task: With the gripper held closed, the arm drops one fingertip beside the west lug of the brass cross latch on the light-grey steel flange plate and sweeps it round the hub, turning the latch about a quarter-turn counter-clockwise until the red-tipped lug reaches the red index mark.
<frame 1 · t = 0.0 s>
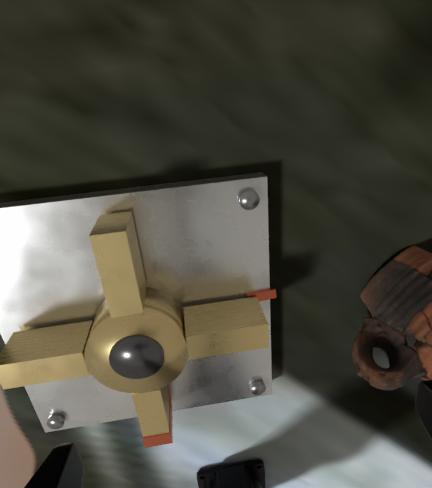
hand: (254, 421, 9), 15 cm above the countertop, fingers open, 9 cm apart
brown clawed figurine: (398, 301, 27), on the countertop
brass cross latch: (139, 340, 22), point 3 cm above the countertop, hinge at 0.0°
flange plate: (142, 311, 24), on the countertop
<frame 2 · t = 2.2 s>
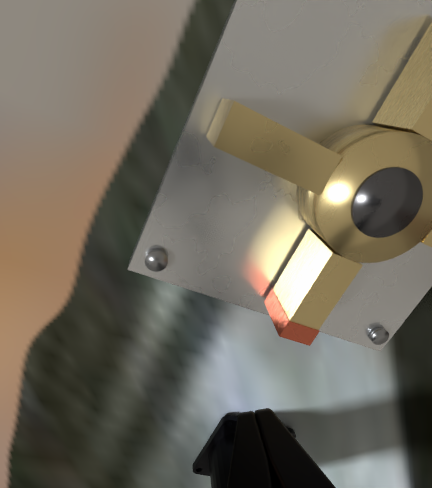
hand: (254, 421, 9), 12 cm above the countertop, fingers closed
brass cross latch: (367, 194, 16), point 3 cm above the countertop, hinge at 0.0°
flange plate: (339, 178, 19), on the countertop
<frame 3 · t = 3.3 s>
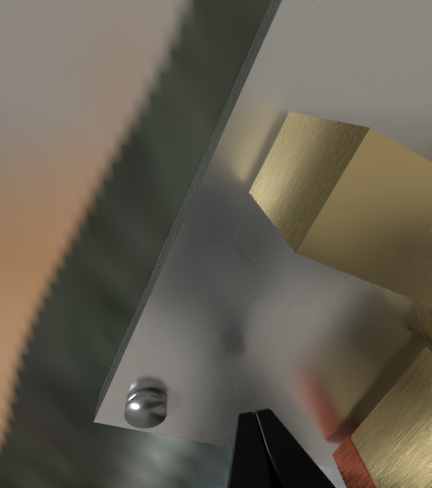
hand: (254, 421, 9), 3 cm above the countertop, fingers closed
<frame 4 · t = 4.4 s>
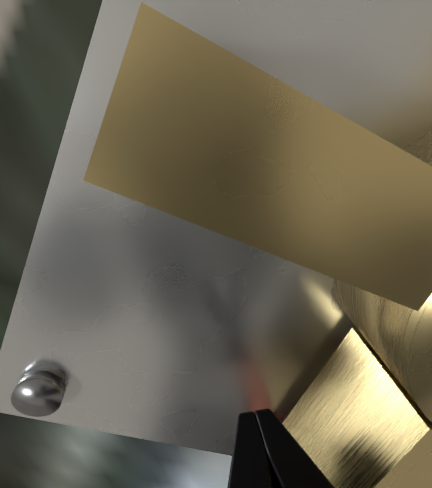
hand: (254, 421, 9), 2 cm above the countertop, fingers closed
flange plate: (409, 222, 10), on the countertop
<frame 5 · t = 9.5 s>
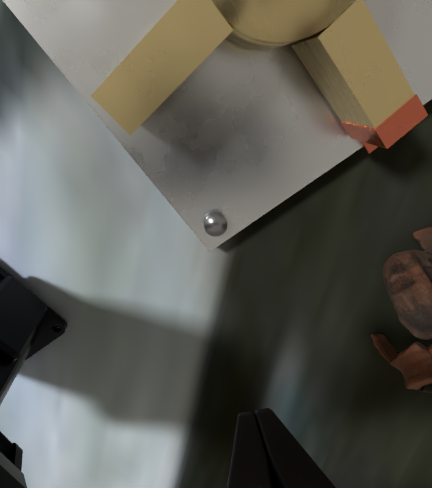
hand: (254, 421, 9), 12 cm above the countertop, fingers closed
brown clawed figurine: (411, 280, 23), on the countertop
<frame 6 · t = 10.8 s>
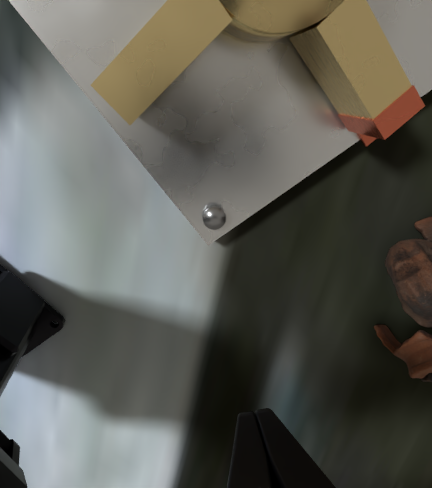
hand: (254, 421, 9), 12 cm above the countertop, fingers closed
brown clawed figurine: (413, 270, 23), on the countertop
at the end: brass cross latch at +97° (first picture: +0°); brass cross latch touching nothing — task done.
